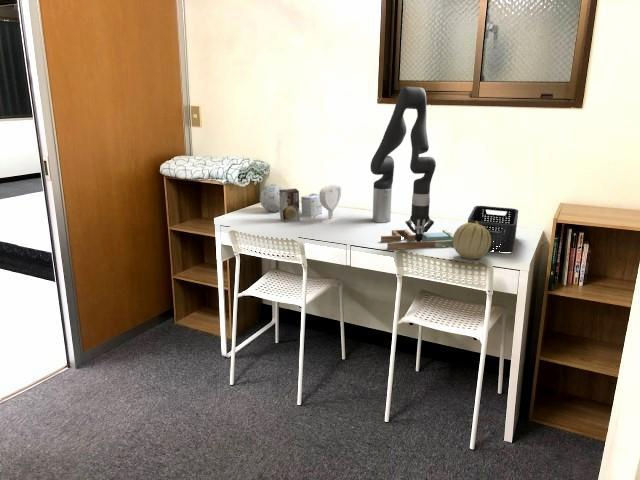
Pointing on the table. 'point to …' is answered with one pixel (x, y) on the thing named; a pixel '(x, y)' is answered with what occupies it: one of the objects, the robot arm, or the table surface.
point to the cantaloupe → (471, 240)
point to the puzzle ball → (271, 198)
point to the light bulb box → (311, 205)
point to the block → (435, 236)
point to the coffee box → (289, 205)
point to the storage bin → (497, 226)
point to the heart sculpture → (330, 200)
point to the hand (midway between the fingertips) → (418, 241)
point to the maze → (409, 245)
